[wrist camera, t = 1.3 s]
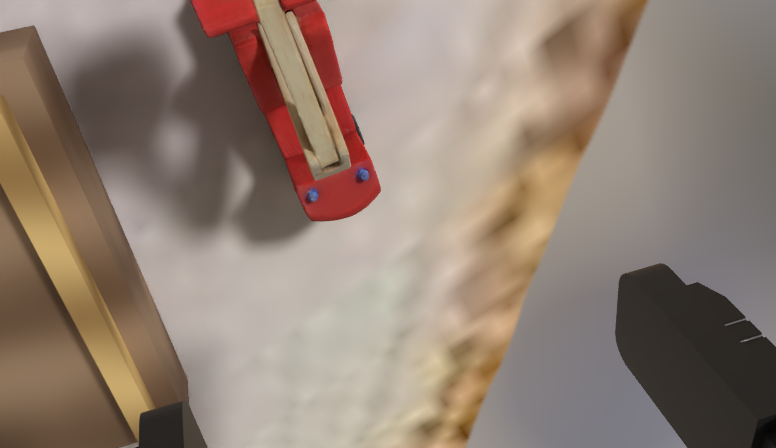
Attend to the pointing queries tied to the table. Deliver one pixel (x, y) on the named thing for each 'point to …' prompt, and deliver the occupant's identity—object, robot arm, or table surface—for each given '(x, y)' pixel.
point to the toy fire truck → (299, 98)
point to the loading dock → (67, 280)
